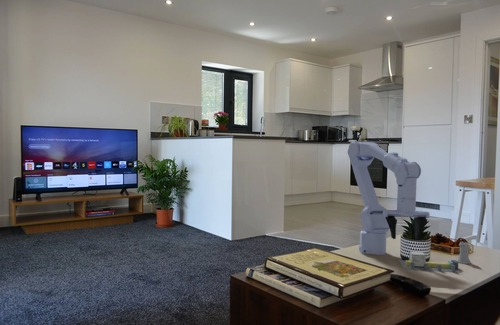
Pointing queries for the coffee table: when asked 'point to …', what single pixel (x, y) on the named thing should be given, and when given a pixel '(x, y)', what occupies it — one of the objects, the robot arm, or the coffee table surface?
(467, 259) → the rook chess piece
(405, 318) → the coffee table surface
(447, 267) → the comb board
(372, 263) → the coffee table surface
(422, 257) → the sleeve
